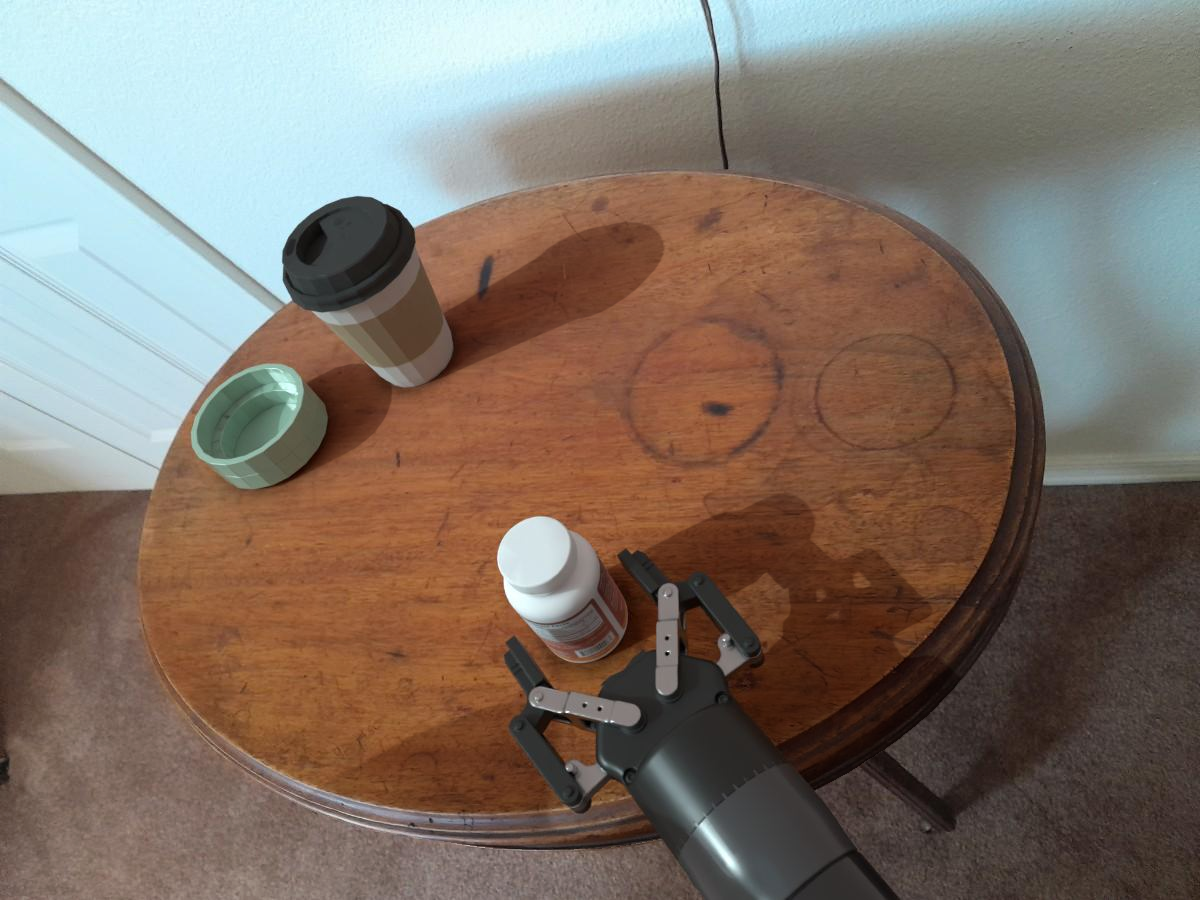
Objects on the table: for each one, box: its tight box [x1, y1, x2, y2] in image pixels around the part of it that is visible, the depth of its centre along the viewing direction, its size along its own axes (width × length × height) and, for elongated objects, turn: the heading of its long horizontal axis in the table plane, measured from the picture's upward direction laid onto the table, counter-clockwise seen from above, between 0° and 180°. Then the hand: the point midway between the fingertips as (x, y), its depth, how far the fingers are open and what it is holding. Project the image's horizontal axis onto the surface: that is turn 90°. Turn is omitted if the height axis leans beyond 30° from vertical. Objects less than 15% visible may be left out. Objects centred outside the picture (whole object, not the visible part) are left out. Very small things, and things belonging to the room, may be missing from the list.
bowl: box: [190, 363, 329, 490], centre depth 76 cm, size 11×11×4 cm
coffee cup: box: [281, 195, 454, 388], centre depth 73 cm, size 11×11×15 cm
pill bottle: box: [496, 515, 629, 664], centre depth 55 cm, size 6×6×11 cm
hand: (569, 599), depth 53 cm, fingers open, 8 cm apart
